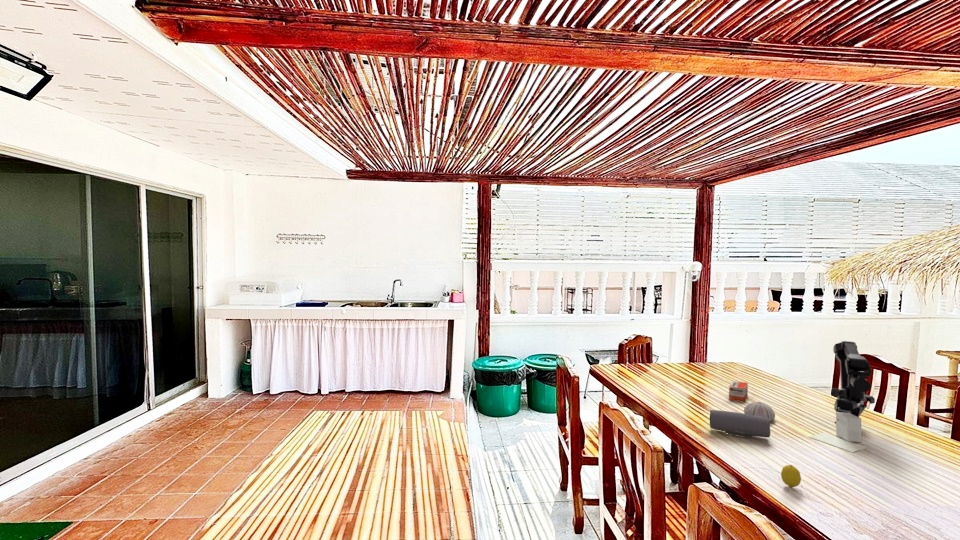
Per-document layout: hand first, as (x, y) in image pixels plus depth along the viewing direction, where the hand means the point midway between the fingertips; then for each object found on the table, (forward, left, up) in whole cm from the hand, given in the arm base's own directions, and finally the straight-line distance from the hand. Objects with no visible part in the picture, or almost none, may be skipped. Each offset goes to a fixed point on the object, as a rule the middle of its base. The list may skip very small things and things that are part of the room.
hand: (855, 419), depth 189 cm
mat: (+14, 0, -8) cm, 17 cm away
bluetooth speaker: (+47, -22, -8) cm, 53 cm away
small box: (+5, 0, -8) cm, 10 cm away
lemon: (+73, +15, -8) cm, 75 cm away
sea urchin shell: (+17, -32, -8) cm, 37 cm away
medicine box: (-4, -57, -8) cm, 58 cm away
